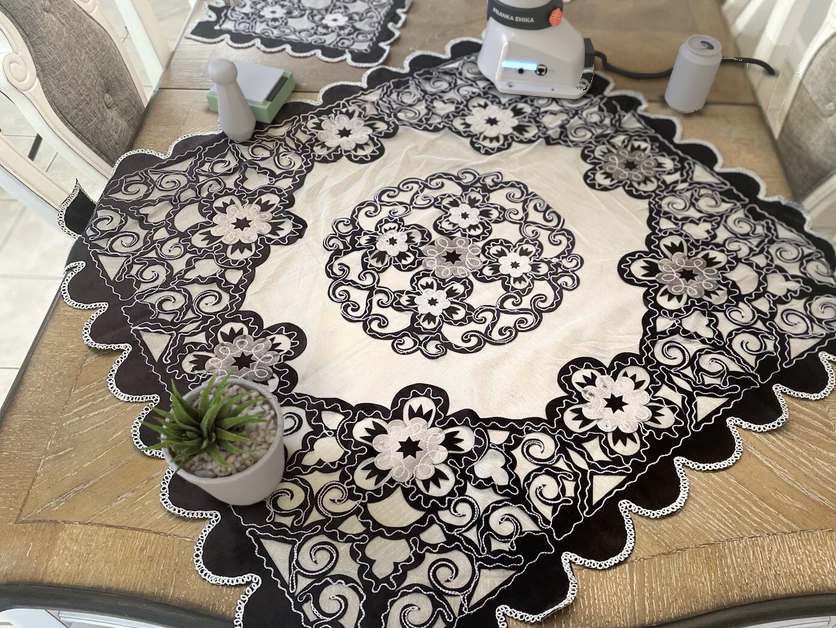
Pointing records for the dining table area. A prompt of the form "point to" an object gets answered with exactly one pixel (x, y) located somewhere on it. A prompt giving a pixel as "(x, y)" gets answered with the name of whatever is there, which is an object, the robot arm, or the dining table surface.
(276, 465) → the potted plant
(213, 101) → the kitchen scale
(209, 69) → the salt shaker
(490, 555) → the dining table surface
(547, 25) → the robot arm
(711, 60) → the can
